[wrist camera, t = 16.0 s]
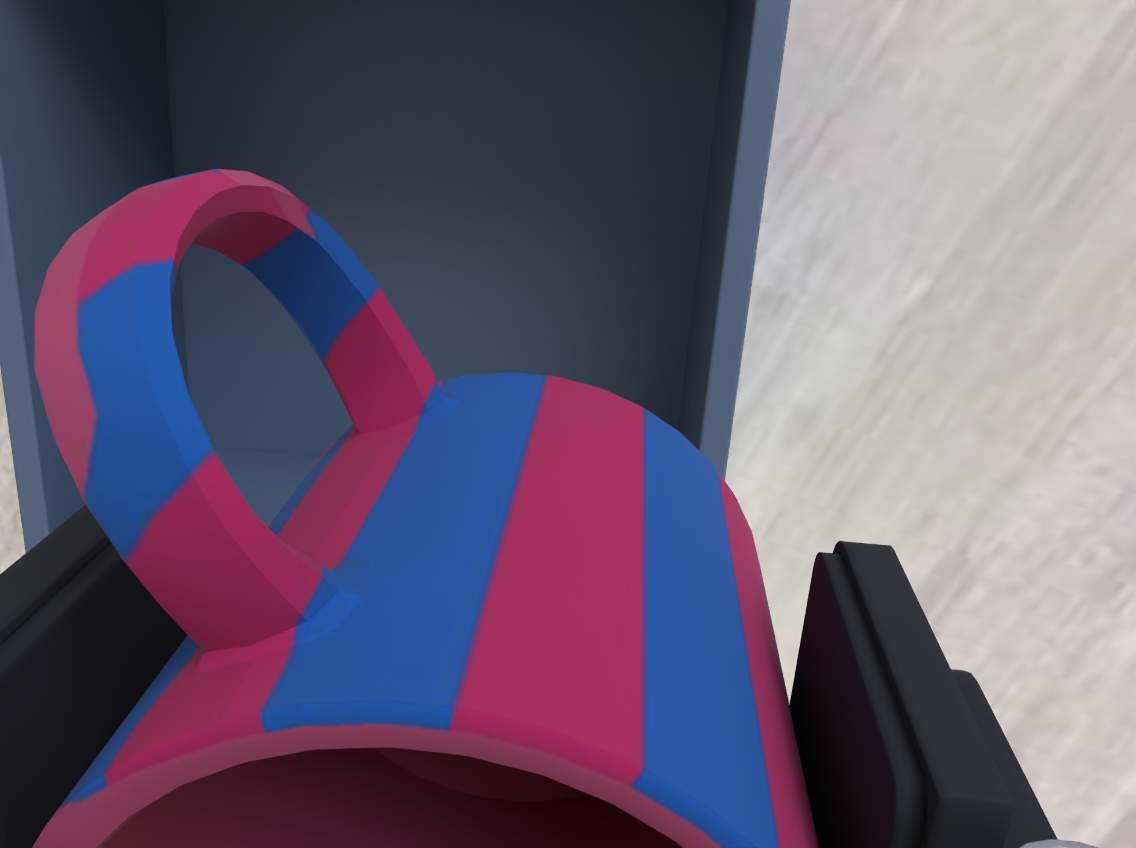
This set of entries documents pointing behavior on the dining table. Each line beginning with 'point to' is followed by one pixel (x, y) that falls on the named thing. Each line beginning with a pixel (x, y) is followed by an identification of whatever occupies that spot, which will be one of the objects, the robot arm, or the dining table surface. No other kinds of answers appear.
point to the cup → (405, 582)
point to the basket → (404, 196)
